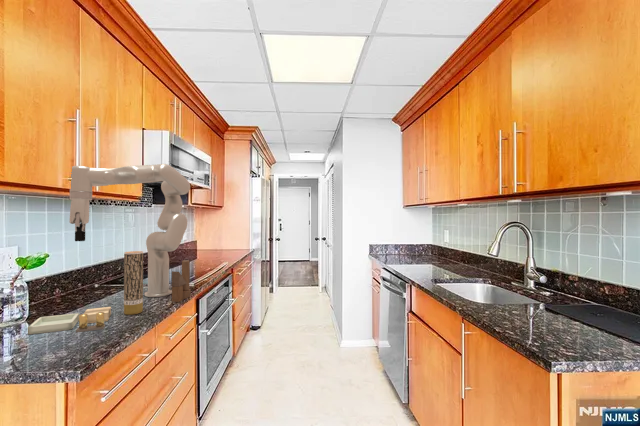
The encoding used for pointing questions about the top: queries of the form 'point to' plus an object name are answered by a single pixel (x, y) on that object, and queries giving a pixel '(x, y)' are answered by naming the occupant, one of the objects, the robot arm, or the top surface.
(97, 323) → the bench dogs
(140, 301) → the paper tube
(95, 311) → the beige stepped block
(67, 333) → the top surface
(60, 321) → the tray
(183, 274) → the wooden block
